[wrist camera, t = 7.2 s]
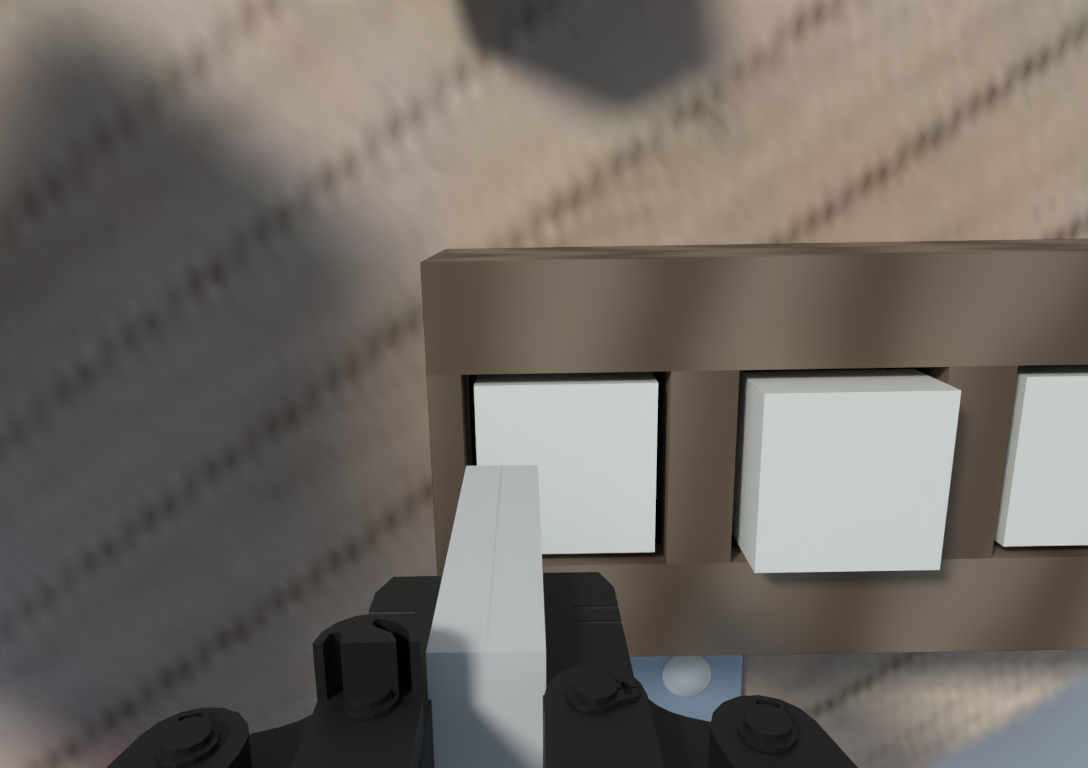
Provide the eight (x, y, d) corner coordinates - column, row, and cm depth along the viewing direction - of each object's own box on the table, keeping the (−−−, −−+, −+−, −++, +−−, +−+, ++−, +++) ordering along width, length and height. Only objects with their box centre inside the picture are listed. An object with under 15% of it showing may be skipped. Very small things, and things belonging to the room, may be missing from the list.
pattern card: (479, 738, 35) (478, 745, 35) (473, 602, 33) (472, 608, 33) (736, 733, 35) (739, 741, 35) (743, 598, 33) (746, 604, 33)
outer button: (956, 511, 29) (1002, 546, 26) (975, 357, 27) (1027, 376, 24) (1112, 508, 29) (1177, 543, 26) (1139, 355, 27) (1211, 374, 24)
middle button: (731, 533, 27) (754, 573, 24) (739, 371, 26) (764, 393, 23) (897, 530, 27) (939, 569, 24) (913, 368, 26) (961, 390, 23)
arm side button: (486, 519, 29) (480, 555, 26) (481, 366, 27) (473, 386, 24) (643, 516, 29) (654, 552, 26) (645, 363, 27) (658, 382, 24)
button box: (460, 571, 33) (442, 660, 27) (445, 249, 30) (420, 262, 23) (1074, 561, 33) (1200, 647, 27) (1128, 238, 30) (1286, 248, 23)
